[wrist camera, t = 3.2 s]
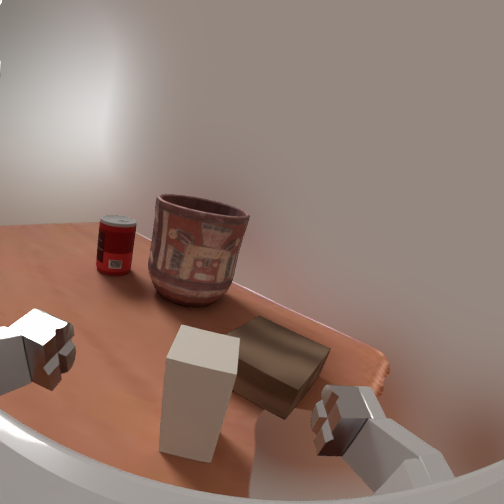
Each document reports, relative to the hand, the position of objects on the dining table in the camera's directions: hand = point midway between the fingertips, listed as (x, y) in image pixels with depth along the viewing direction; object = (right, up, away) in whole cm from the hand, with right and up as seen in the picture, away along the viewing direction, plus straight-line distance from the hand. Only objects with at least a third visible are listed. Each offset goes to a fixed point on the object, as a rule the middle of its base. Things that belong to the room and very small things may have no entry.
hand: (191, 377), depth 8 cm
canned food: (-28, 0, +51) cm, 58 cm away
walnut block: (+4, -13, +30) cm, 33 cm away
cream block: (-4, -15, +16) cm, 22 cm away
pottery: (-11, -5, +50) cm, 51 cm away
